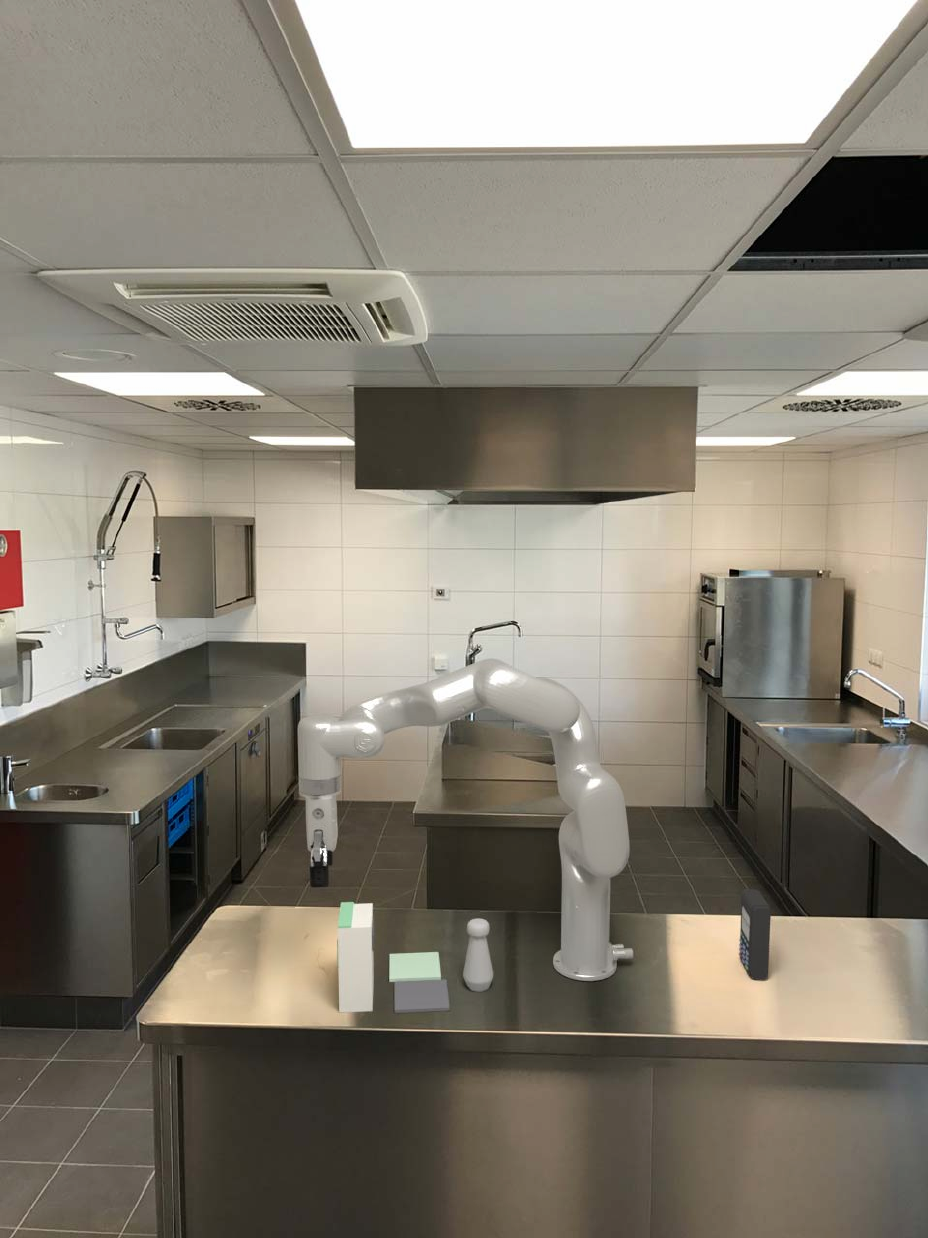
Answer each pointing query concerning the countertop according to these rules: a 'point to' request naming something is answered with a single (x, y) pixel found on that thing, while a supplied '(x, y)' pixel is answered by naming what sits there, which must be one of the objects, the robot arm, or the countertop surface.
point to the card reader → (755, 934)
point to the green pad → (414, 966)
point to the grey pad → (421, 996)
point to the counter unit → (355, 957)
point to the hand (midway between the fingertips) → (321, 875)
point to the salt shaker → (478, 957)
